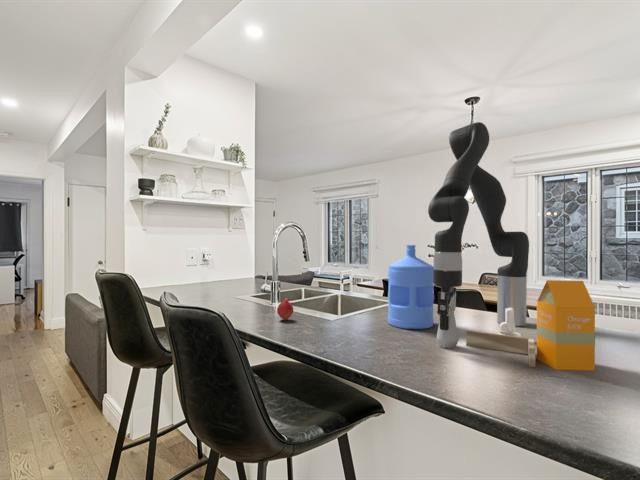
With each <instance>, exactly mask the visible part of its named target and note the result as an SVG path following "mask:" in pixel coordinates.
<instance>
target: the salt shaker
mask: <svg viewBox="0 0 640 480" xmlns="http://www.w3.org/2000/svg"><path fill="white" fill-rule="evenodd" d="M456 307H457V302H456V303H455V301H454V300H453V304H452V309H450V312H449V313H450V315H449V329H448V330H447V331H446V330H441V329H440V320H439V321H438V327H437V332H436V341H437V343H438V346H439V347H440V348H443V349H449V350H451V349H456V347H457V345H458V342H459V339H460V338H459V334H458V333H459V332H458V328H457V322H456V317H455V311H454V310H453V309H455V310H456ZM442 310H445V309H442Z"/></svg>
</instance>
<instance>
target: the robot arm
mask: <svg viewBox="0 0 640 480" xmlns="http://www.w3.org/2000/svg"><path fill="white" fill-rule="evenodd" d="M448 141H449V145H450V148H451V151H452V154H453V155H454V157H455V159H456V161H455V162H454V163H453V165H451V167H450V168H449V170H448V171H447V173H446V176H445V179H444V181H443V184H442V186H440V188H439V190H437V192H436V193H435V195H434V196H433V197H432V198H431V200H430V202H429V205H428V207H427V208H428V209H427V210H428V211H427V213H428V217H429V219H430V220H431V221H433V222H435V223H452V224H451V226H450V227H448V228H447V229H444V230H440V231H437V232H435V234H434V254H433V255H434V256H433V267H434V273H433V286H438V287H441V288H440V291H438V292H437V311H436V312H437V315H438V316H439V321H440V329H441V330H446V331H447V330H448V329H449V315H450V313H449V312H450V309H452V304H453V300H454V301H455V303H456V304H457V300H456V299H457V288H459V287H462V285H463V257H462V255H463V254H462V242H463V241H462V237H463V232H464V228H465V225H466V221H467V219H468V215H469V211H470V204H469V202H468V199H466V196H467V193H468V190H469V188H470V190H471V193H472V195H473V198H474V201H475V203H476V206H477V208H478V209H479V212H480V214H481V217H482V219H483V222H484V225H485V226H486V227H485V228H486V230H487V234H488V236H489V238H488V239H489V240H490V243H491V248H492V250H493V252H494V253H495V255H497V256H498V257H502V258H511V260H510V262H509V263H508V264H506V265H503V266H499V267H498V268H497V281H496V282H497V290H496V291H497V295H496V296H497V305H496V306H497V307H496V308H497V309H496V310H497V311H496V314H497V315H496V322H497V323H498V324H499V325H500V324H501V323H502V322H506V317H505V309H506V308H513V309H514V324H515V327H526V326H527V286H528V285H527V284H528V283H527V276H528V275H527V272H528V268H529V256H530V255H529V254H530V239H529V236H528V235H527V233H526V232H524V231H505V230H504V228H503V226H502V217H503V214H504V210H505V208H506V204H507V197H506V194H505V192H504V189H503V187H502V184H501V182H500V181H499V179H497V178H496V177H495V176H494V175H492V174H491V173H489V172H488V171H487V170H485V169H483V168H482V166H481V167H480V165H479V163H480V162H481V160H482V158H483V156H484V155H485V152H486V151H487V149H488V147H489V144H490V133H489V129H488V127H487V125H485V124H484V123H483V122H479V121H478V122H473V123H470V124H467V125H465V126H462V127H460V128H457V129H454V130H453V131H451V132H450V133H449V136H448ZM442 309H445V310H442ZM453 310H454V312H455V310H456V308H455V309H453Z"/></svg>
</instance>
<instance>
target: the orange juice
mask: <svg viewBox="0 0 640 480" xmlns="http://www.w3.org/2000/svg"><path fill="white" fill-rule="evenodd" d="M595 346H596V306H595V304H594V301H593V300H592V297H591V295H590V293H589V292H588V289H587V287H586V285H585V282H584V281H583V280H552V279H551V280H546V281H545V284H544V286H543V288H542V290H541V293H540V294H539V296H538V299H537V300H536V360H538V361H540V363H541V362H542V363H543V364H545V365H546V366H548V367H550V368H552V369H554V370H557V371H559V370H561V371H563V370H565V371H596V370H595V369H596V367H595V366H596V365H595V364H596V363H595V362H596V360H595V359H596V358H595V357H596V353H595V352H596V351H595V350H596V347H595Z"/></svg>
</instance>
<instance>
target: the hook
mask: <svg viewBox="0 0 640 480" xmlns="http://www.w3.org/2000/svg"><path fill="white" fill-rule="evenodd" d="M505 317H506V322H502V323H501V324H500V323H499V328H500V331H498V332H497V334H502V335H510V336H518V337H524V335H523V334H522V333H520V332H516V331H515V330H516V326H515V324H514V309H513V308H506V309H505Z"/></svg>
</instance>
